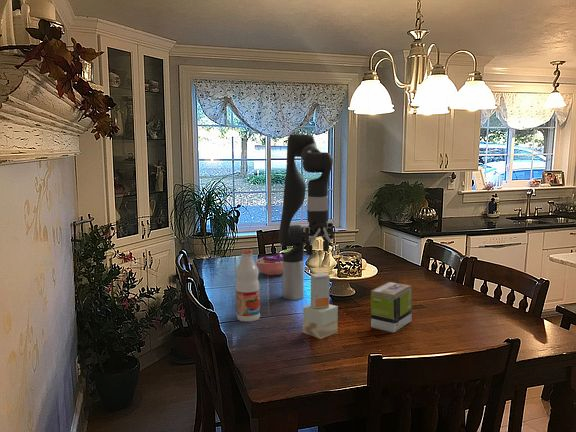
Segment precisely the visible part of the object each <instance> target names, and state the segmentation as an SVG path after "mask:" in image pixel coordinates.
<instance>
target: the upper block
mask: <svg viewBox="0 0 576 432" xmlns="http://www.w3.org/2000/svg"><path fill="white" fill-rule="evenodd" d="M302 310H303V311H302V319H303V320H305V321H308V322H311V323H314V324H317V325H320V326H323V325H325V324H328V323H330V322H333V321H335V320H338V319H339V313H338V310H339V306H338V305H333V304H330V303H329V307H326V308H315V309H314V308H313V307H312V306H311V303H310V304H308V305H304V306H303V308H302ZM303 320H302V321H303Z"/></svg>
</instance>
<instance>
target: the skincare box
mask: <svg viewBox="0 0 576 432" xmlns="http://www.w3.org/2000/svg"><path fill="white" fill-rule="evenodd" d="M330 279H331V277H330V275H329V274H328V273H325V272H324V273H323V272H322V273H312V274H310V304H311V306H312V307H313V308H314V309H315V308H326V307H329V304H330Z"/></svg>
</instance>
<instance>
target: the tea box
mask: <svg viewBox="0 0 576 432" xmlns="http://www.w3.org/2000/svg"><path fill="white" fill-rule="evenodd" d="M412 317H413V316H412V285H409V284H404V283H397V282H391V281H388V282H386V283H384V284H382V285H380V286H378V287H376V288H374V289H372V290H371V291H370V326H371V328H373V329H376V330H382V331H385V332H389V333H396V332H397V331H399V330H400V329H402V328H404V326H406V325H408V324H409V323H411V322H412V319H413V318H412Z"/></svg>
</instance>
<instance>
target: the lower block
mask: <svg viewBox="0 0 576 432" xmlns="http://www.w3.org/2000/svg"><path fill="white" fill-rule="evenodd" d="M338 330H339V328H338V320H335V321H333V322H330V323H328V324H325V325H323V326H320V325H317V324H314V323H311V322H308V321H305V320H302V333H304V334H305V335H309V336H312V337H314V338H317V339H320V340H322V339H324V338H326V337H329V336H332V335H335V334H337V333H338V332H339V331H338Z"/></svg>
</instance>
